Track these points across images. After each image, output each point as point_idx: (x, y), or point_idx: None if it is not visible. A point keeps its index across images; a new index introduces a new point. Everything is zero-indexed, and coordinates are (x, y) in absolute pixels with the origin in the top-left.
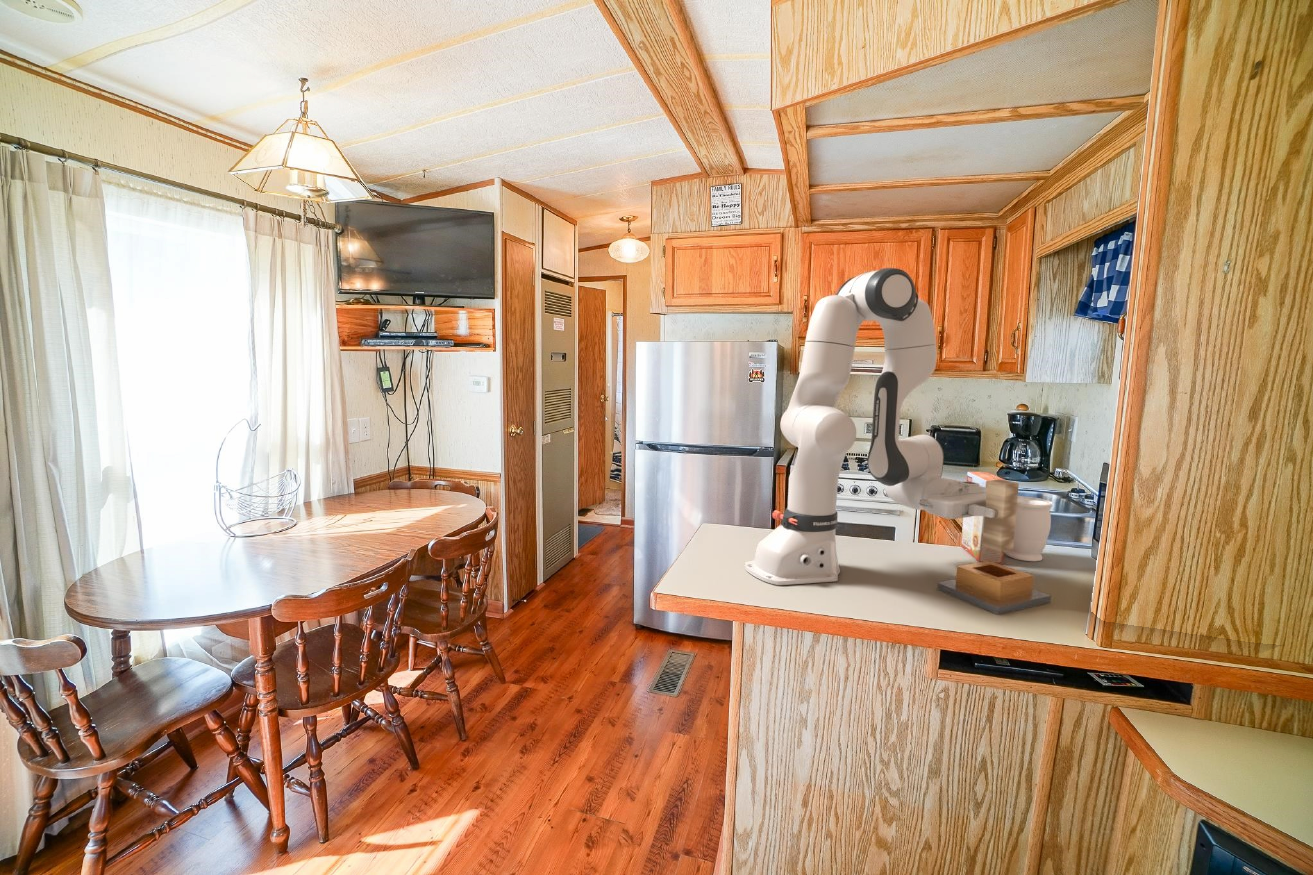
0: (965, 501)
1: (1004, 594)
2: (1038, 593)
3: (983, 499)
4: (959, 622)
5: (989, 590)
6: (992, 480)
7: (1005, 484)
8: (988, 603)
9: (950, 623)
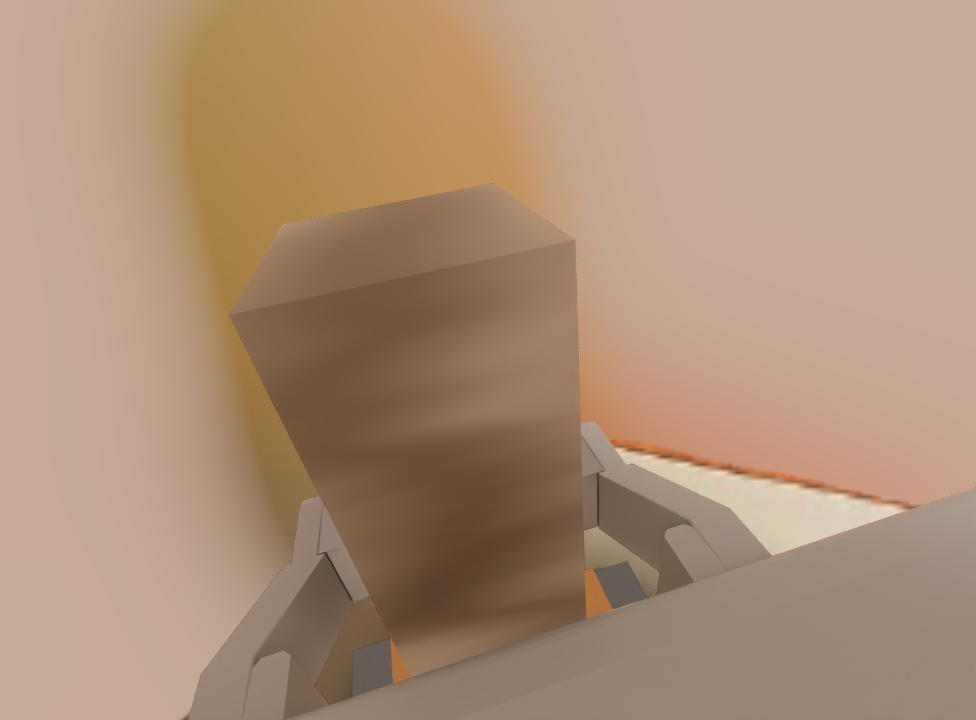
0: (860, 539)
1: None
2: (376, 679)
3: (507, 649)
4: (778, 532)
5: None
6: (461, 261)
7: (492, 184)
8: (645, 595)
9: (811, 527)
